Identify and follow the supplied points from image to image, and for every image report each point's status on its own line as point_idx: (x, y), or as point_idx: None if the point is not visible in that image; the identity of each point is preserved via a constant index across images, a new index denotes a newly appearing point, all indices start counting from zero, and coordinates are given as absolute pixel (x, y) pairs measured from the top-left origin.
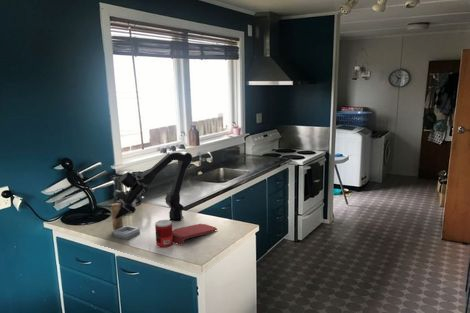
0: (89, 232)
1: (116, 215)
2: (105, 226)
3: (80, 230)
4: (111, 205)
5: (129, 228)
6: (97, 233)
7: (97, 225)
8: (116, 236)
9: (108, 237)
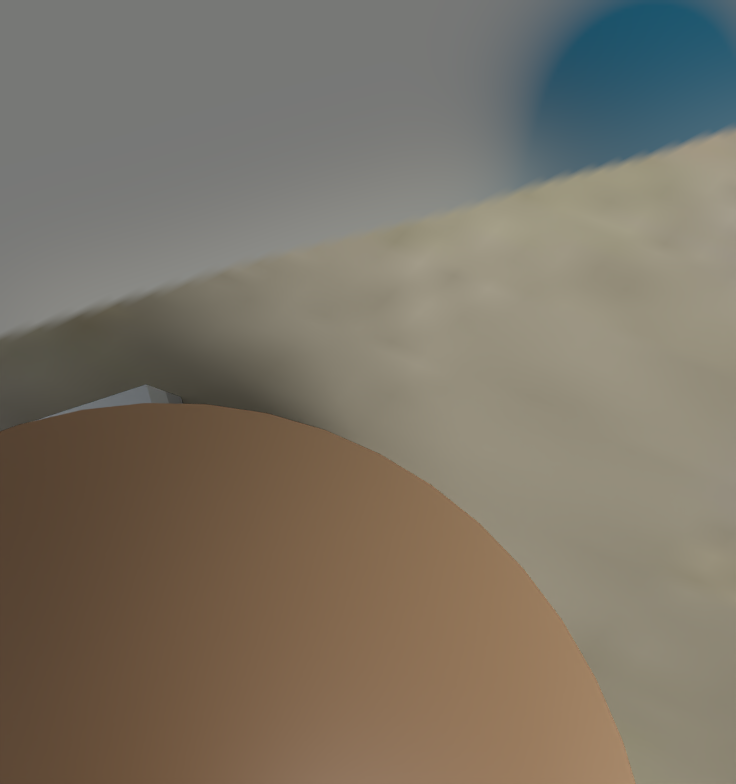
0: (539, 219)
1: None
2: (623, 457)
3: (676, 165)
4: (231, 423)
5: None
6: (439, 279)
7: (727, 387)
8: None
9: (205, 330)
